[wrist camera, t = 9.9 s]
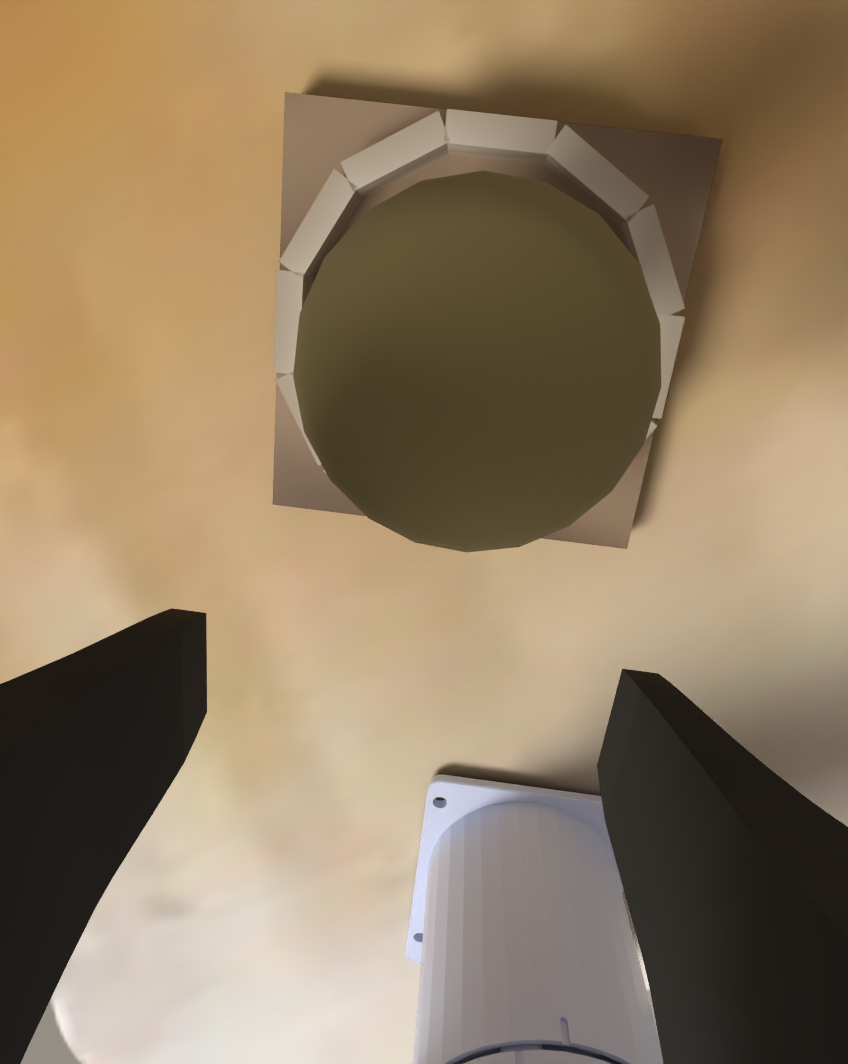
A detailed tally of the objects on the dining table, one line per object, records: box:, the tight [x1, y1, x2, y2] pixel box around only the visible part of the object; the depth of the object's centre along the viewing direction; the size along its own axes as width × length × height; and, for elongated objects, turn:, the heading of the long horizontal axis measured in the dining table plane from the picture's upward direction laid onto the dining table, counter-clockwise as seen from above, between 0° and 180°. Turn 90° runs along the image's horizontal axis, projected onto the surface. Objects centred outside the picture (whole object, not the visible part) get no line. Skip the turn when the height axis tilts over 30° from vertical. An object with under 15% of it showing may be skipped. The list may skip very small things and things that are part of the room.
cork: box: [293, 170, 661, 552], centre depth 13 cm, size 6×6×11 cm
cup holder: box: [273, 92, 722, 549], centre depth 18 cm, size 11×11×2 cm
